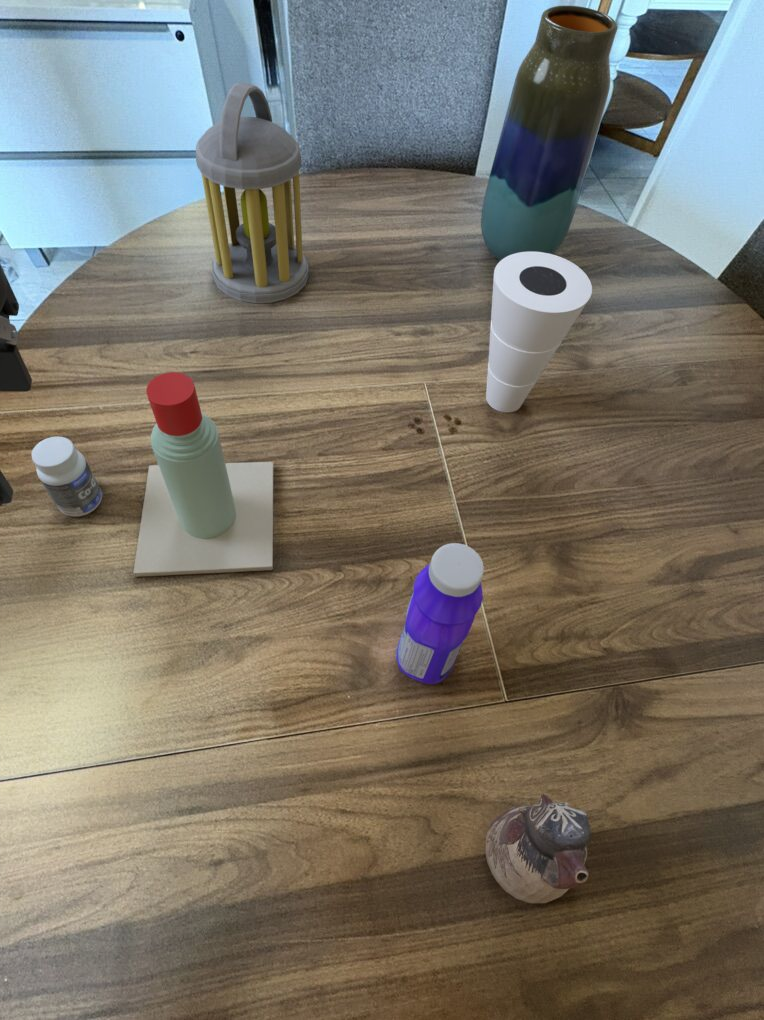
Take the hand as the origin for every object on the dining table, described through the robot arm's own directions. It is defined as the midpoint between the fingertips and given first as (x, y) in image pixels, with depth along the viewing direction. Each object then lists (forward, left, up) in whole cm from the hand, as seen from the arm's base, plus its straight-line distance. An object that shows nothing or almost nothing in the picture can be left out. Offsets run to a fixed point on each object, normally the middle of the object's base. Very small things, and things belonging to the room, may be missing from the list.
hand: (5, 440), depth 39 cm
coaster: (+8, +11, -26) cm, 30 cm away
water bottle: (+8, +11, -26) cm, 29 cm away
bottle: (+30, -6, -27) cm, 40 cm away
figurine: (+36, -24, -27) cm, 50 cm away
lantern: (+13, +55, -27) cm, 63 cm away
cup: (+45, +28, -27) cm, 59 cm away
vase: (+54, +61, -27) cm, 86 cm away
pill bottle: (-6, +14, -27) cm, 31 cm away
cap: (+8, +11, -10) cm, 17 cm away
